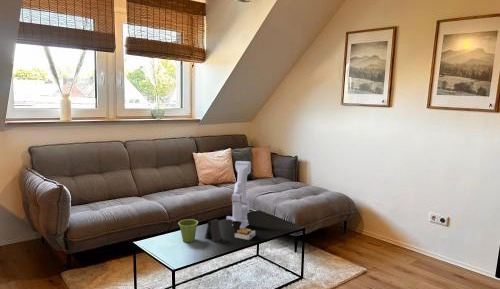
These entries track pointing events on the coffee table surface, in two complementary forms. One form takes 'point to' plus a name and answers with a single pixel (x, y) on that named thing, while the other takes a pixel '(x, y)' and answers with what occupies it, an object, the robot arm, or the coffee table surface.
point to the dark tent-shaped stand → (213, 231)
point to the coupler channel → (245, 235)
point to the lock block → (244, 231)
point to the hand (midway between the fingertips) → (236, 232)
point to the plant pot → (188, 229)
